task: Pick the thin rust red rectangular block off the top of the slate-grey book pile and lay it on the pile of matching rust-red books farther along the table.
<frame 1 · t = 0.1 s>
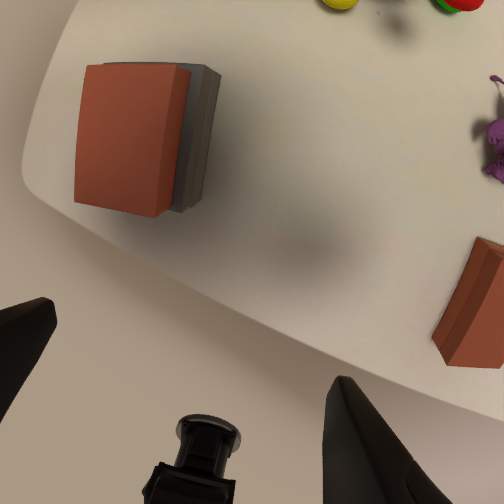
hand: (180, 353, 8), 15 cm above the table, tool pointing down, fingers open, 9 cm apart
purple lumpy cluster: (502, 130, 17), on the table
rust books: (483, 296, 22), on the table
rust red rectangular block: (137, 134, 17), point 4 cm above the table, touching grey books
grey books: (162, 131, 20), on the table
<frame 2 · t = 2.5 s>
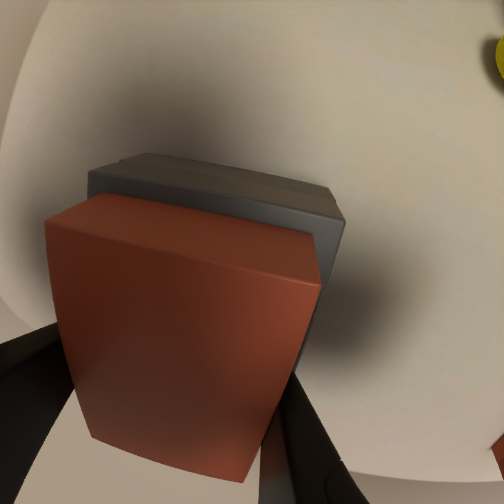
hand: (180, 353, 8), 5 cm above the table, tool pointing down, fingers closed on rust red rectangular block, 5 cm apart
rust red rectangular block: (186, 338, 9), point 4 cm above the table, touching grey books, gripper
grey books: (215, 277, 13), on the table
when the fingers open (5 cm above the table, at t = 7.9 s): rust red rectangular block stays where it is, resting on rust books.
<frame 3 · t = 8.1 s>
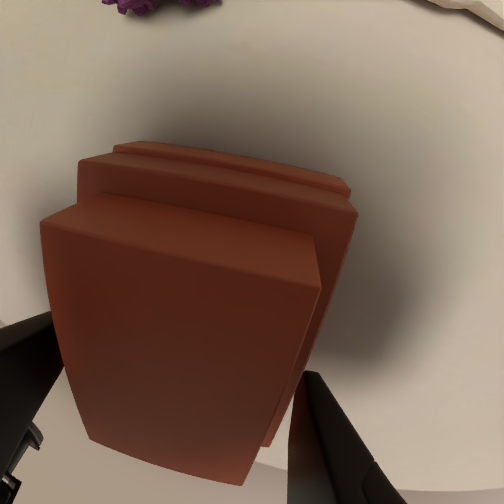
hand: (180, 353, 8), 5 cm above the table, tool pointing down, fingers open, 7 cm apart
white tapered bar: (472, 8, 7), on the table
rust books: (215, 279, 13), on the table
rust red rectangular block: (184, 339, 9), point 4 cm above the table, touching rust books
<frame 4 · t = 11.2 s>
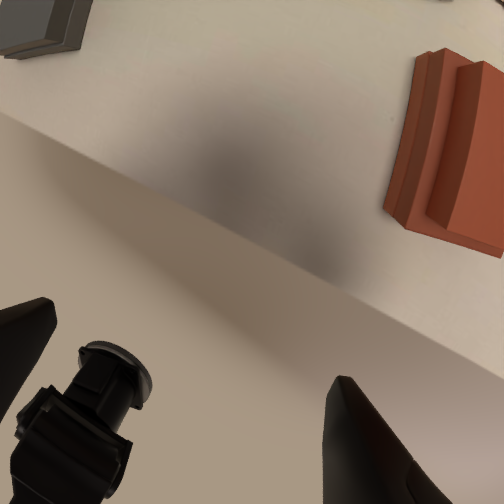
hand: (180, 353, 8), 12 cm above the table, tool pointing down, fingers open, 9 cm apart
rust books: (452, 150, 16), on the table
rust red rectangular block: (485, 157, 12), point 4 cm above the table, touching rust books
grey books: (60, 2, 14), on the table
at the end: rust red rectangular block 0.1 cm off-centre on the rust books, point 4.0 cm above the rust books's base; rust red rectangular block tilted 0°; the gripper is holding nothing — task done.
